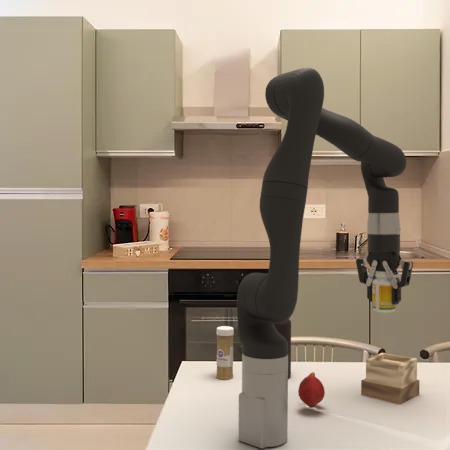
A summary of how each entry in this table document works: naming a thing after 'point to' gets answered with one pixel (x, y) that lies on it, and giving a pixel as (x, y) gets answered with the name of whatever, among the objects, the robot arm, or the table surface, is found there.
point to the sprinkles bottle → (225, 352)
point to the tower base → (390, 392)
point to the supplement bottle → (382, 293)
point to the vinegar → (285, 331)
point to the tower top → (391, 370)
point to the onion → (311, 390)
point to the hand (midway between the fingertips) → (384, 302)
